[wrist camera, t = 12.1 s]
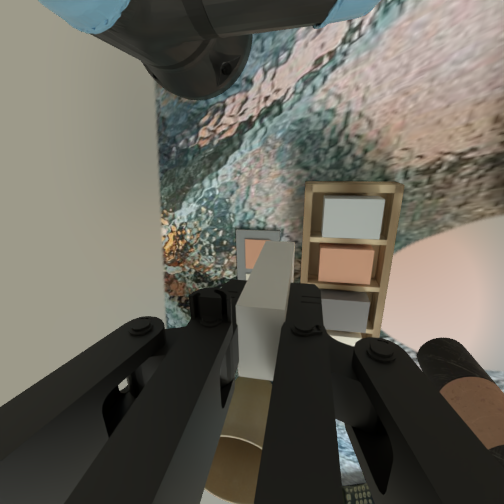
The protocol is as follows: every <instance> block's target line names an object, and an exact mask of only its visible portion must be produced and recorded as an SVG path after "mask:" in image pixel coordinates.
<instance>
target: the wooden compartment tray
mask: <svg viewBox="0 0 504 504" xmlns="http://www.w3.org/2000/svg"><path fill="white" fill-rule="evenodd" d="M404 186H405V185H403V184H401V183H398V182H375V181H306V182H305V200H304V221H303V241H302V261H301V282H300V283H305V284H315V285H316V286H317V287H318V288H319V289H329V290H343V291H357V292H366V293H367V296H368V298H369V301H370V307H369V314H368V320H367V327H366V333H361V336H362V338H367V337H375V338H379V335H380V329H381V323H382V317H383V311H384V305H385V299H386V293H387V287H388V281H389V275H390V269H391V263H392V257H393V251H394V245H395V239H396V233H397V227H398V222H399V216H400V210H401V204H402V198H403V192H404ZM324 195H357V196H380V197H382V198H384V199H385V204H384V211H383V218H382V225H381V232H380V238H379V239H354V238H328V237H322V233H321V227H322V213H323V199H324ZM320 242H322V243H346V244H369V245H371V246H372V247H373V249H374V250H375V252H374V259H373V266H372V273H371V280H370V285H369V284H354V283H339V282H324V281H318V260H319V246H320Z"/></svg>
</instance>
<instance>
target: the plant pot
mask: <svg viewBox="0 0 504 504" xmlns="http://www.w3.org/2000/svg"><path fill="white" fill-rule="evenodd" d="M271 390H272V384H271V382H270V380H263V379H255V378H248V377H240V376H239V377H238V378H237V379H236V380H235V389H234V393H233V396H232V399H231V403H230V406H229V409H228V412H227V416H226V419H225V422H224V425H223V429H222V432H221V435H220V439H219V442H218V445H217V448H216V452H215V455H214V458H213V462H212V465H211V468H210V471H209V475H208V478H207V481H206V484H205V488H204V489H205V490H206V491H207V492H209V493H210V494H212V495H213V496H215V497H217V498H219V499H222V500H224V501H227V502H230V503H233V504H254V498H255V492H256V486H257V479H258V473H259V467H260V460H261V454H262V447H263V441H264V435H265V428H266V422H267V416H268V409H269V403H270V397H271Z"/></svg>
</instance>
